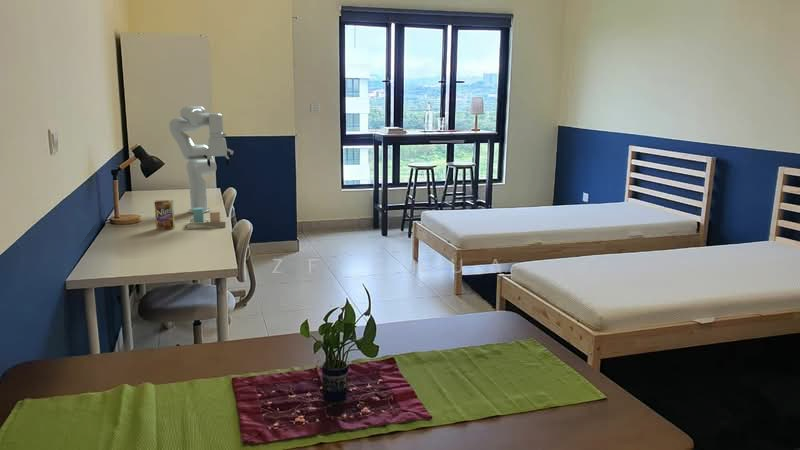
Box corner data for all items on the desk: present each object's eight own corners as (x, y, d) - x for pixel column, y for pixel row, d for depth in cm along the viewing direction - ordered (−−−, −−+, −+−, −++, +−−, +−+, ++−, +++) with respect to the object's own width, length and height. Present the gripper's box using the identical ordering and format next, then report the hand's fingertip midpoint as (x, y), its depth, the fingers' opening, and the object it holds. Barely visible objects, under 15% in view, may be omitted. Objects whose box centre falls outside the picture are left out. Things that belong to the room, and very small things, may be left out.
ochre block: (211, 225, 340) (210, 210, 338) (220, 224, 341) (219, 210, 339) (210, 227, 335) (209, 212, 333) (220, 226, 336) (219, 212, 334)
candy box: (156, 229, 328) (153, 201, 325) (158, 227, 332) (155, 199, 329) (173, 229, 329) (171, 201, 326) (175, 227, 334) (173, 199, 330)
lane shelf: (188, 224, 340) (188, 219, 339) (225, 223, 344) (225, 217, 344) (187, 229, 330) (186, 223, 329) (225, 227, 335) (225, 221, 334)
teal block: (195, 217, 357) (194, 204, 356) (204, 217, 359) (203, 203, 357) (194, 223, 343) (193, 209, 341) (203, 223, 344) (202, 209, 342)
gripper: (232, 135, 351) (234, 165, 355) (200, 135, 347) (203, 166, 351) (232, 136, 344) (234, 166, 348) (200, 136, 340) (202, 167, 344)
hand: (218, 166), depth 349 cm, fingers open, 9 cm apart
